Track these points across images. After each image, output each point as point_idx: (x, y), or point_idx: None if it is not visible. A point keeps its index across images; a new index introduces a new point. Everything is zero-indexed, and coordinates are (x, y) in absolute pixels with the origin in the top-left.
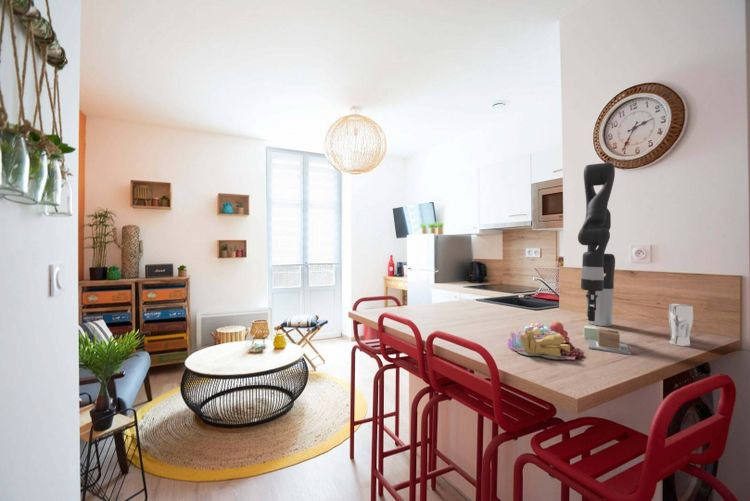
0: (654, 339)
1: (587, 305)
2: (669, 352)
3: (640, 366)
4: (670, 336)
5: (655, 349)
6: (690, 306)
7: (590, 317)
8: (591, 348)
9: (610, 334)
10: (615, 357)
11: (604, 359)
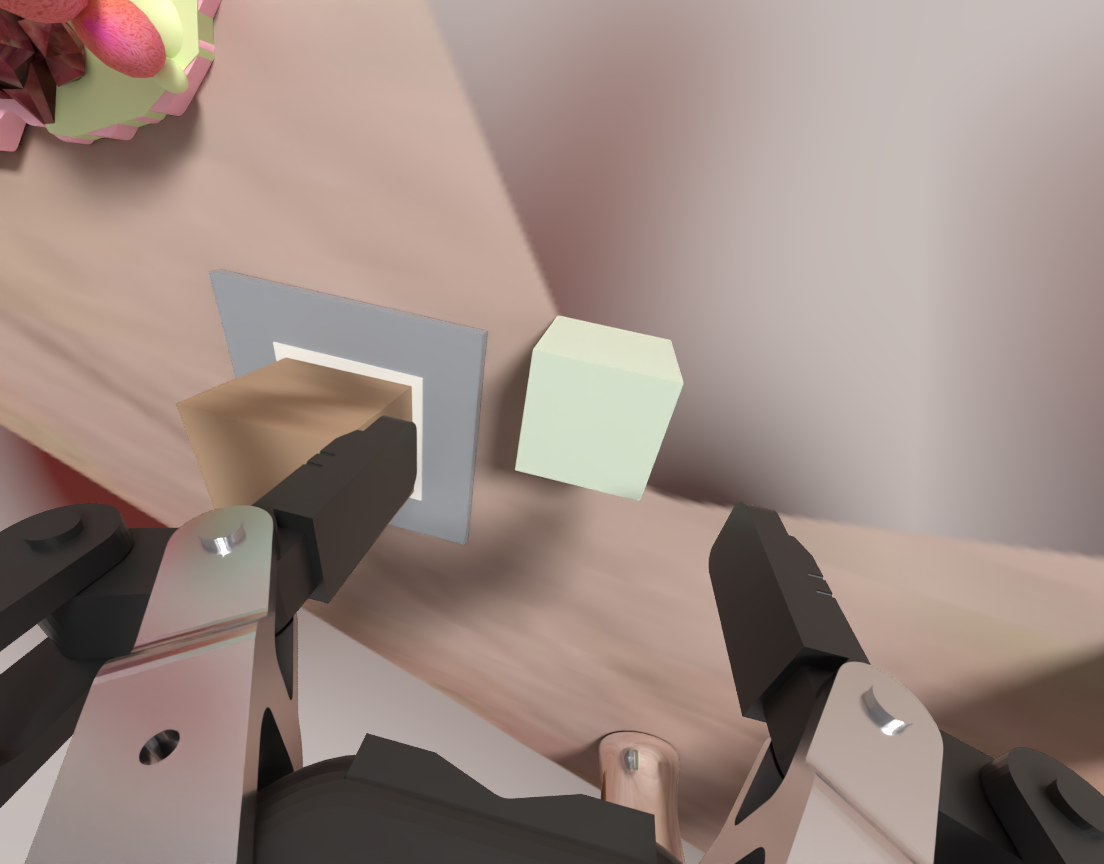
0: (709, 718)
1: (214, 628)
2: (446, 652)
3: (92, 447)
4: (652, 777)
5: (472, 630)
6: None
7: (326, 460)
8: (219, 288)
9: (213, 475)
10: (149, 386)
11: (45, 306)
